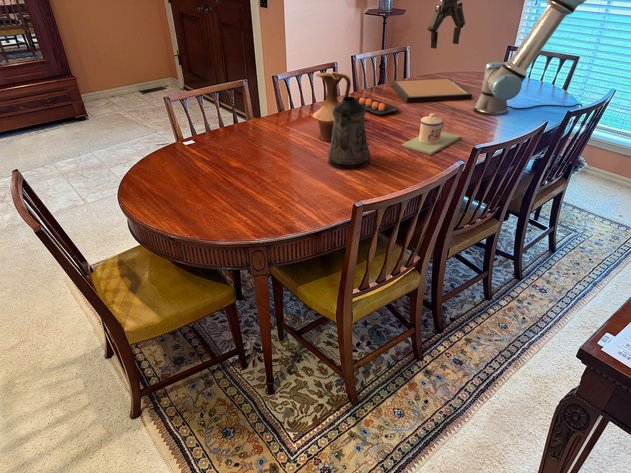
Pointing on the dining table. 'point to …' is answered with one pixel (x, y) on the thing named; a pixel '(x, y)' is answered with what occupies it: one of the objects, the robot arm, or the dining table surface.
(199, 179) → the dining table surface
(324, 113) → the pitcher
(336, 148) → the beer stein
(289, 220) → the dining table surface
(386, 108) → the sushi plate
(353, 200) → the dining table surface
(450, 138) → the mat
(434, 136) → the teacup with lid
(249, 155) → the dining table surface
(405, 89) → the cork board
